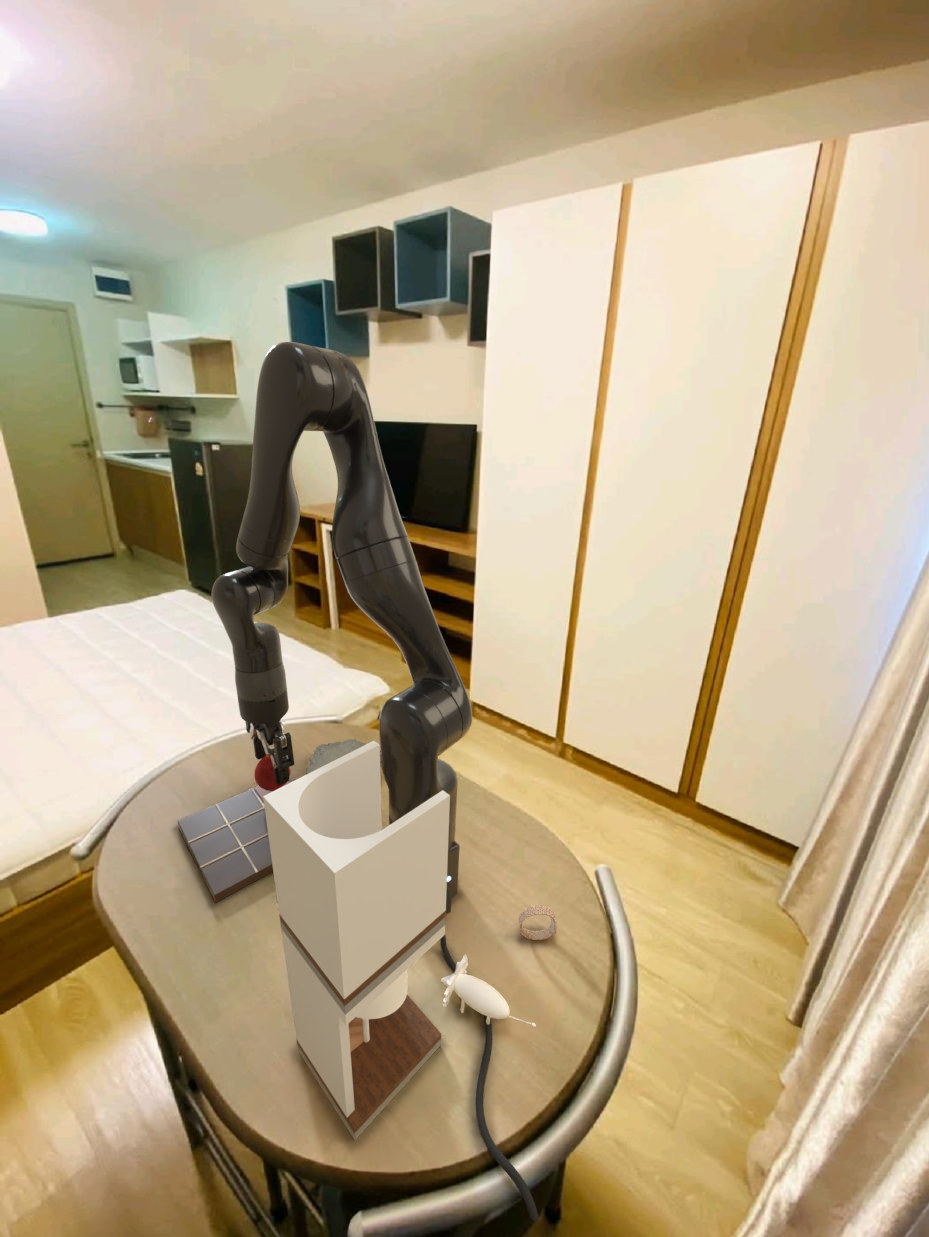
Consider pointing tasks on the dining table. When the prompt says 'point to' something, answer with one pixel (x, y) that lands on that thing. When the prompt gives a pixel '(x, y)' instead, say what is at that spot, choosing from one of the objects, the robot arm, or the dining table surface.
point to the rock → (332, 753)
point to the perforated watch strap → (541, 934)
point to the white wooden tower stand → (357, 927)
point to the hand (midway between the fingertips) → (272, 769)
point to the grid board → (230, 842)
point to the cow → (476, 994)
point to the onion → (266, 774)
